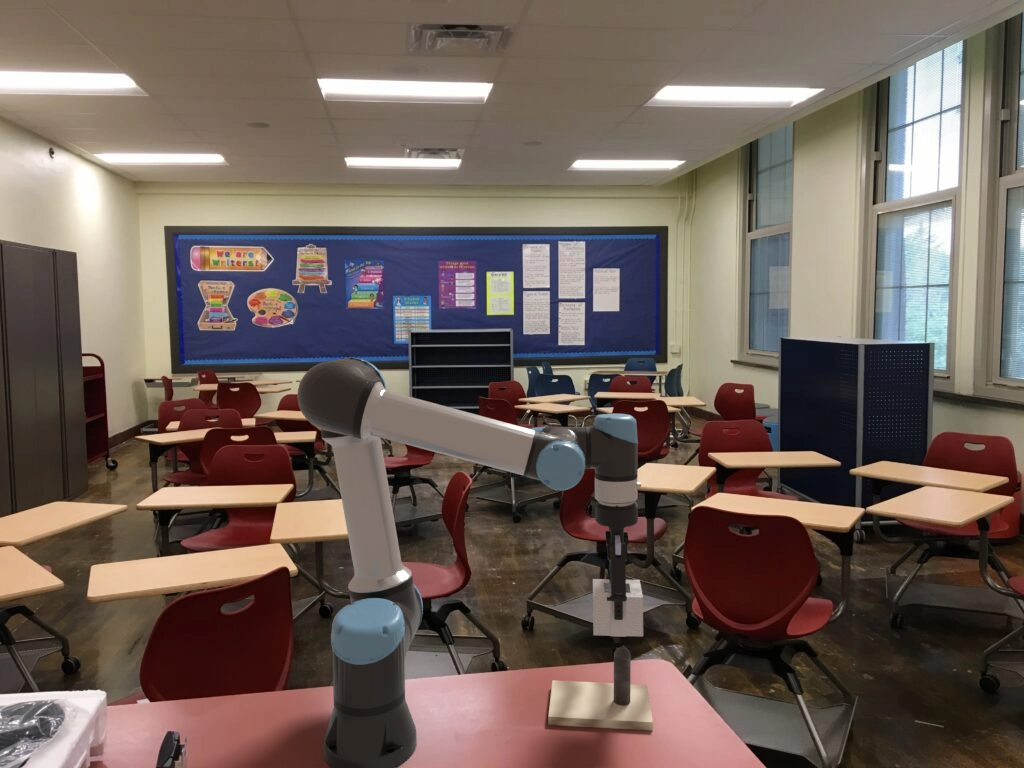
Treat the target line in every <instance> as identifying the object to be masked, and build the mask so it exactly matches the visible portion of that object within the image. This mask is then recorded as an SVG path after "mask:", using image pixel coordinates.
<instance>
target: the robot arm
mask: <svg viewBox="0 0 1024 768" xmlns="http://www.w3.org/2000/svg"><path fill="white" fill-rule="evenodd" d="M296 398H297V403H298V407H299V410H300V411H301V414H302V415H303V416H304V418H305V419H306V420H307V421H308V422H309V423H310V424H311V425H313V426H315V427H316V428H319V429H320V435H321V439H322V440H323V441H324V442H326V443H327V444H329V445H330V446H331V447H332V452H333V456H334V462H335V468H336V469H335V470H336V475H337V480H338V485H339V492H340V497H341V502H342V509H343V515H344V521H345V526H346V531H347V537H348V543H349V547H350V554H351V560H352V565H353V572H354V575H353V577H352V578H351V580H350V581H349V582H348V586H347V587H348V593H349V597H350V599H349V600H350V604H346V605H345V606H344V607H342V608H341V609H339V610H338V612H337V613H336V615H335V616H334V618H333V620H332V624H331V631H330V632H331V633H330V646H331V656H332V657H331V659H332V661H331V662H332V687H333V688H332V689H333V707H332V712H331V715H330V718H329V721H328V725H327V728H326V732H325V735H324V738H323V756H324V760H325V762H326V763H327V764H328V766H329V767H331V768H397V767H399V766H401V765H402V764H404V763H405V762H407V761H408V760H409V759H410V758H411V757H412V756H413V754H414V752H415V751H416V749H417V743H418V740H417V738H418V737H417V736H418V735H417V729H416V725H415V722H414V718H413V716H412V714H411V711H410V708H409V705H408V704H407V703H408V702H407V700H406V681H405V680H406V678H405V676H406V673H405V670H406V669H405V663H406V656H407V653H408V651H409V649H410V646H411V645H412V642H413V639H414V638H415V635H416V633H417V632H418V630H419V628H420V625H421V623H422V618H423V614H424V612H423V611H424V609H423V608H424V605H423V599H422V596H421V595H422V594H421V593H420V590H419V589H418V588H417V586H416V584H414V578H413V572H412V570H411V569H410V568H408V567H407V566H405V565H404V564H403V562H402V558H401V557H402V556H401V551H400V545H399V540H398V533H397V528H396V522H395V517H394V511H393V505H392V499H391V492H390V487H389V481H388V475H387V469H386V464H385V463H386V462H385V459H384V452H383V451H384V450H383V445H382V439H384V440H385V439H386V440H387V441H388V440H389V441H393V442H396V443H400V444H403V445H408V446H411V447H415V448H418V449H421V450H426V451H430V452H434V453H437V454H442V455H445V456H449V457H452V458H457V459H460V460H463V461H468V462H470V463H471V462H472V463H474V464H479V465H482V466H486V467H491V468H493V469H497V470H501V471H505V472H508V473H513V474H516V475H521V476H523V477H527V478H529V479H532V480H537V481H540V482H541V483H542V484H543V485H545V486H546V487H547V488H549V489H551V490H554V491H567V490H570V489H572V488H574V487H576V486H577V485H578V484H579V483H580V481H581V480H582V478H583V476H584V474H585V470H590V469H591V470H592V469H594V472H595V473H594V499H595V500H597V501H596V503H595V504H594V507H595V509H594V510H595V512H594V513H595V519H594V520H595V522H596V523H597V525H600V526H602V527H607V528H608V530H605V545H606V551H607V560H608V561H609V562H608V564H609V565H608V570H609V573H608V577H609V579H611V596H610V597H607V601H610V631H611V636H610V637H618V638H619V637H624V638H625V637H627V636H626V599H627V596H626V580H627V578H628V577H627V576H628V575H627V574H628V573H627V572H626V571H627V570H626V566H627V565H626V561H627V560H628V545H629V533H628V530H624V529H625V528H628V527H629V528H630V527H633V526H635V525H637V523H638V521H639V505H638V503H637V502H636V501H637V500H638V489H641V488H642V483H641V482H638V471H639V469H638V465H639V464H638V461H639V458H638V455H639V454H638V453H639V452H638V451H639V449H638V448H639V447H638V445H639V440H638V428H637V419H636V418H635V417H634V416H632V415H631V414H626V413H602V414H597V415H596V416H595V417H594V419H593V420H594V422H593V423H592V425H589V426H549V425H544V426H540V427H532V428H531V427H530V428H527V427H524V426H520V425H516V424H513V423H508V422H504V421H502V420H497V419H494V418H491V417H486V416H482V415H479V414H476V413H472V412H467V411H465V410H460V409H456V408H454V407H453V408H452V407H450V406H446V405H441V404H439V403H434V402H431V401H427V400H423V399H420V398H415V397H413V396H408V395H405V394H401V393H397V392H394V391H389V390H387V383H386V381H385V378H384V376H383V374H382V372H381V371H380V369H378V367H376V366H375V365H374V364H372V363H370V361H367V360H365V359H361V358H358V357H353V356H351V357H342V358H338V359H334V360H327V361H324V362H319V363H318V364H316V365H314V366H312V367H311V368H310V369H309V370H307V372H306V373H305V374H304V375H303V376H302V378H301V380H300V382H299V385H298V388H297V397H296Z"/></svg>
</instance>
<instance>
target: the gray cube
mask: <svg viewBox="0 0 1024 768" xmlns="http://www.w3.org/2000/svg"><path fill="white" fill-rule="evenodd" d="M610 596H611V578H609V579H607V578H603V579H602V578H592V619H593V620H592V621H593V623H592V624H593V625H592V626H593V627H592V630H593V634H592V635H593V636H603V637H604V636H607V637H608V636H609V637H612V636H611V631H610V601H607V597H610ZM626 596H627V599H626V637H644V596H643V589H642V585H641V580H640V579H626Z"/></svg>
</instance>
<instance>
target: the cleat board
mask: <svg viewBox="0 0 1024 768" xmlns="http://www.w3.org/2000/svg"><path fill="white" fill-rule="evenodd" d="M631 655H632V654H631V653H630V650H628V649H627V648H626V647H622V646H621V647H620V646H619V647H617V648H616V649H615V651H614V653H613V682H599V681H597V682H595V681H573V680H556V679H554V680H553V679H552V681H551V688H550V689H551V691H550V700H549V707H548V708H549V709H548V717H547V718H548V719H547V720H548V723H547V724H548V726H562V727H580V728H599V729H614V730H615V729H617V730H620V729H621V730H635V731H637V730H639V731H653V729H654V727H653V726H654V722H653V715H652V714H653V713H652V708H651V701H650V696H649V695H650V694H649V687H648V684H640V683H639V684H635V683H631V678H632V677H631V673H632V672H631V670H632V669H631V664H632V663H631V662H632V661H631V659H632V656H631Z"/></svg>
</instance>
